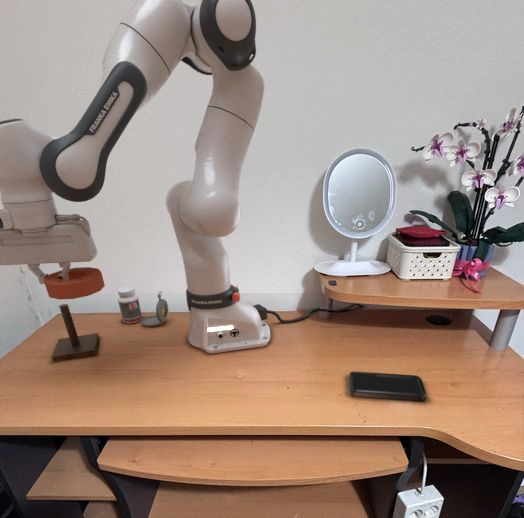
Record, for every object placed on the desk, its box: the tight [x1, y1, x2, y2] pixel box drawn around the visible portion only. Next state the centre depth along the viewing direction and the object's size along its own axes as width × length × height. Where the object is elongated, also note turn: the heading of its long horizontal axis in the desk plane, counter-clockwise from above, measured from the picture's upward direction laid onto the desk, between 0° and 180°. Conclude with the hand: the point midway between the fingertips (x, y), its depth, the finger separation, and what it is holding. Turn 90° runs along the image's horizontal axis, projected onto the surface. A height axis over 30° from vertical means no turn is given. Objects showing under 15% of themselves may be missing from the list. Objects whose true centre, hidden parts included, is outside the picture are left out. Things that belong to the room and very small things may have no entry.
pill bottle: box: [117, 286, 143, 325], centre depth 112 cm, size 6×6×10 cm
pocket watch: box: [140, 291, 169, 328], centre depth 109 cm, size 8×8×10 cm
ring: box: [43, 266, 106, 301], centre depth 81 cm, size 11×11×3 cm
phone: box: [348, 370, 427, 402], centre depth 80 cm, size 8×1×15 cm
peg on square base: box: [51, 303, 100, 362], centre depth 97 cm, size 10×10×12 cm
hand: (55, 282), depth 81 cm, fingers closed on ring, 3 cm apart
